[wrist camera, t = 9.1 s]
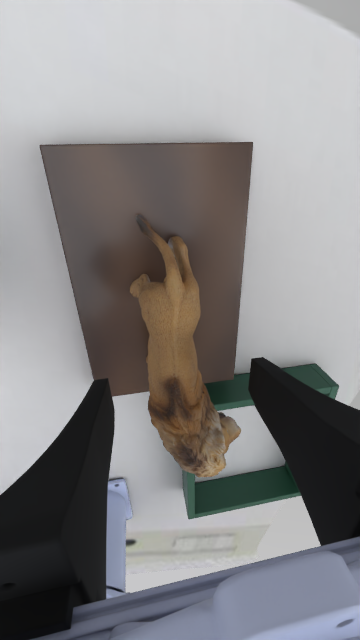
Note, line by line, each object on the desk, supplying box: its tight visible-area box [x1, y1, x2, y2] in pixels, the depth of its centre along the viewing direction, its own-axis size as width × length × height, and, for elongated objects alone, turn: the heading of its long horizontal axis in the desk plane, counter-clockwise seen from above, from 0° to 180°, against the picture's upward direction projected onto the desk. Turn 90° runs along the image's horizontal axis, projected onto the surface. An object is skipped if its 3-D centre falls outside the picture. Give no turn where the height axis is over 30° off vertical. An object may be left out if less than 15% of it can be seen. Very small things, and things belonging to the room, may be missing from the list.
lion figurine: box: [130, 214, 241, 477], centre depth 16 cm, size 15×5×9 cm, turn 13°
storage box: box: [182, 364, 339, 519], centre depth 29 cm, size 15×18×4 cm
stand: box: [40, 142, 253, 396], centre depth 20 cm, size 12×18×2 cm, turn 1°
